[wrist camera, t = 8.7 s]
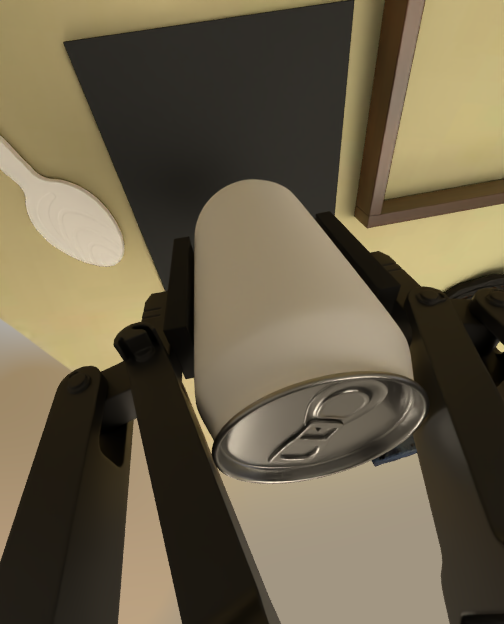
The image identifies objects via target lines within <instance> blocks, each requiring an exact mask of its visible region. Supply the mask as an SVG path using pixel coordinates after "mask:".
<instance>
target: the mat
mask: <svg viewBox="0 0 504 624" xmlns="http://www.w3.org/2000/svg"><path fill="white" fill-rule="evenodd" d="M353 9H354V0H347V1H340V2H333V3H327V4H320V5H313V6H306V7H299V8H292V9H285V10H279V11H272V12H265V13H258V14H251V15H244V16H238V17H231V18H224V19H217V20H210V21H203V22H196V23H190V24H183V25H176V26H169V27H162V28H155V29H149V30H142V31H135V32H128V33H121V34H114V35H108V36H101V37H94V38H87V39H80V40H73V41H66V42H63V43H64V46H65V48H66V51H67V53H68V56H69V58H70V60H71V63H72V65H73V68H74V70H75V73H76V75H77V77H78V80H79V82H80V85H81V87H82V90H83V92H84V94H85V97H86V99H87V102H88V104H89V107H90V109H91V111H92V114H93V116H94V119H95V121H96V124H97V126H98V128H99V131H100V133H101V136H102V138H103V141H104V143H105V145H106V148H107V150H108V153H109V155H110V158H111V160H112V162H113V165H114V167H115V170H116V172H117V175H118V177H119V179H120V182H121V184H122V187H123V189H124V192H125V194H126V196H127V199H128V201H129V204H130V206H131V209H132V211H133V213H134V216H135V218H136V221H137V223H138V226H139V228H140V230H141V233H142V235H143V238H144V240H145V243H146V245H147V247H148V250H149V252H150V255H151V257H152V260H153V262H154V264H155V267H156V269H157V272H158V274H159V277H160V279H161V281H162V284H163V286H164V289H165V291H168V284H169V276H170V268H171V260H172V251H173V243H174V239H176V238H182V237H187V236H189V238H190V241H191V245H192V248H193V252H194V240H195V228H196V224H197V220H198V217H199V215H200V213H201V211H202V209H203V207H204V206H205V204H206V203H207V202H208V201H209V199H210V198H211V197H212V196H213V195H215V194H216V193H217V192H218V191H220V190H221V189H223V188H224V187H226V186H228V185H230V184H232V183H235V182H238V181H242V180H250V179H257V180H265V181H270V182H274V183H277V184H279V185H282V186H283V187H285V188H287V189H288V190H289V191H291V192H292V193H293V194H294V195H295V197H296V198H297V199H298V200H299V201H300V202H301V204H302V205H303V206H304V207H305V208H306V210H307V211H308V212H309V213H310V215H311V216H312V217H313V218H314V219H315V216H316V214H317V213H323V212H328V211H330V212H331V213H332V214H333V215H335V204H336V193H337V182H338V172H339V161H340V150H341V139H342V128H343V118H344V107H345V96H346V85H347V74H348V63H349V53H350V42H351V31H352V20H353Z"/></svg>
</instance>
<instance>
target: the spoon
mask: <svg viewBox="0 0 504 624" xmlns="http://www.w3.org/2000/svg"><path fill="white" fill-rule="evenodd" d="M0 169H1V170H2V171H3V172H4V173H5V174H6V175H7V176H9V177H10V178H11V179H12V180H13V181H15V182H16V183H17V184H18V185H19V186H20V187H21V189H23V190H22V191H24V194H25V196H26V199H25V200H26V201H25V203H26V207H27V214H28V216H29V218H30V220H31V221H32V223H33V225H34V226H35V228H36V230H38V231H39V233H40V234H41V235H42V236H43V237H44V238H46V240H47V241H48V242H49V243H51V244H52V245H53V246H55V247H56V248H58V249H60V251H62V252H64V253H66V254H67V255H70V256H71V257H74V258H75V259H78V261H79V260H81V261H83V262H85V263H86V264H87V263H88V264H93V265H96V266H97V265H98V266H99V267H100V266H105V267H110V266H113V265H115V264H117V263H118V262H120V260H121V259H122V257H123V255H124V240H123V236H122V232H121V231H120V228H119V227H118V224H117V222H116V221H115V219H114V217H113V216H112V215H111V213H110V212H109V210H108V209H107V208H106V207H105V206H104V205H103V204H102V203H101V201H100V200H99V199H98V198H96V197H95V196H93V194H92V193H89V192H88V191H87V190H86V189H83V188H82V187H80V186H78V185H76V184H73V183H71V182H68V181H64V180H59V179H49V178H47V177H46V178H45V177H43V176H41V175H39V174H38V173H36V172H35V171H34V170H33V168H32V167H31V166H30V165H29V164H28V163H27V162H26V161H25V160H24V159H23V158H22V157H21V156H20V155H19V154H18V153H17V152H16V151H15V150H14V149H13V148H12V147H11V145H10V144H9V143H8V142H7V141H6V140H5V139H4V138H3V137H2V136H1V135H0Z"/></svg>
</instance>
